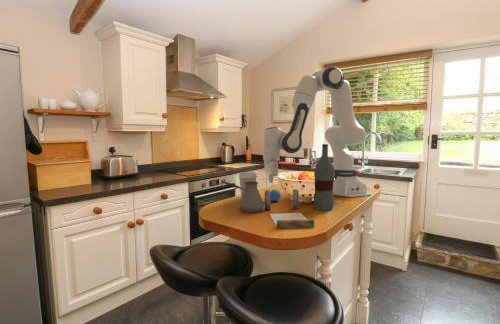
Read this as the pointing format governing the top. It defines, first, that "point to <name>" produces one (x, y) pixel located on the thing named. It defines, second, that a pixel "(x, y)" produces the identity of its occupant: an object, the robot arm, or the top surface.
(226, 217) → the top surface
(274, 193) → the ball
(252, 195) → the coffee pot
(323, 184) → the bottle
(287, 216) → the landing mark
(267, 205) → the left post
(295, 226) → the wall
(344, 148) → the robot arm
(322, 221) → the top surface
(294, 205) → the right post
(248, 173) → the coffee cup
